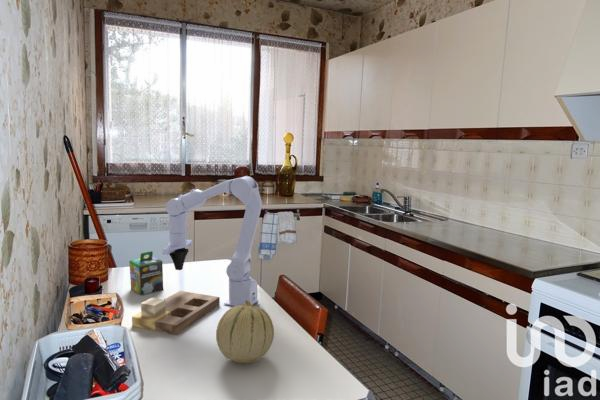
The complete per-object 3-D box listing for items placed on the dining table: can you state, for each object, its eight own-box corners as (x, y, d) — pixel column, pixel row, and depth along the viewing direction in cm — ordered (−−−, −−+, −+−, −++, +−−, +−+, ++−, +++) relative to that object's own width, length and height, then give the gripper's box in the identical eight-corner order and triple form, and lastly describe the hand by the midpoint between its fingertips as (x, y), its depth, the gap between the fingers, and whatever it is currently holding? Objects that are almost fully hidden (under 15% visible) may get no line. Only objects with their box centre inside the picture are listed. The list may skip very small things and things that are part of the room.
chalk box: (153, 284, 166) (151, 247, 164) (164, 290, 160) (163, 251, 158) (129, 289, 160) (128, 251, 158) (140, 296, 153) (138, 256, 151)
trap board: (219, 305, 146) (219, 297, 145) (176, 335, 124) (176, 325, 123) (180, 298, 151) (180, 290, 151) (132, 326, 129) (131, 316, 129)
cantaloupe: (219, 378, 101) (218, 319, 99) (214, 349, 115) (213, 296, 113) (279, 370, 105) (280, 313, 103) (268, 343, 119) (268, 292, 117)
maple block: (165, 312, 132) (165, 299, 132) (154, 318, 127) (154, 305, 127) (152, 309, 134) (152, 297, 133) (141, 315, 129) (140, 303, 129)
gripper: (180, 227, 157) (181, 262, 159) (154, 235, 144) (156, 273, 146) (197, 228, 155) (197, 264, 157) (172, 237, 141) (173, 276, 143)
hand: (178, 269), depth 151 cm, fingers closed
